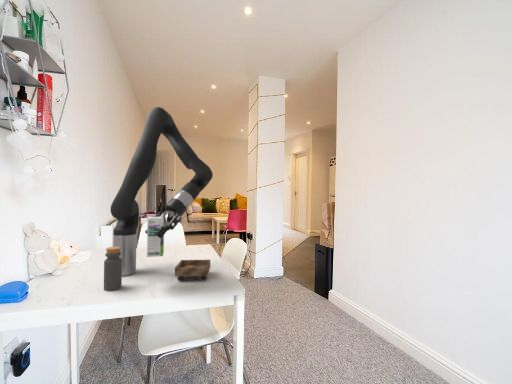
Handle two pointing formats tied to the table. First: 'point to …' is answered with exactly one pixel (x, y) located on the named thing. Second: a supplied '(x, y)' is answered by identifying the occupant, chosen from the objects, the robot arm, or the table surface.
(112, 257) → the bottle
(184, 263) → the wooden toy cart
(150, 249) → the syrup box
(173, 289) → the table surface
